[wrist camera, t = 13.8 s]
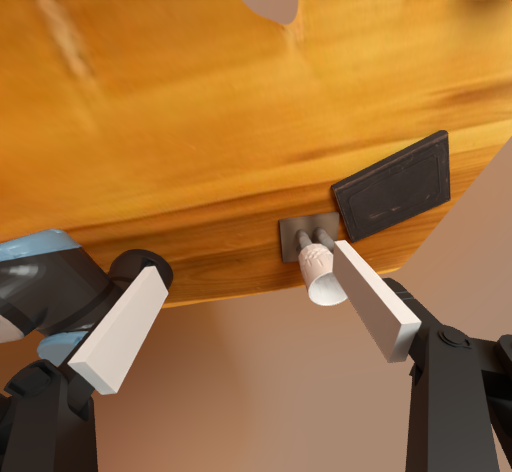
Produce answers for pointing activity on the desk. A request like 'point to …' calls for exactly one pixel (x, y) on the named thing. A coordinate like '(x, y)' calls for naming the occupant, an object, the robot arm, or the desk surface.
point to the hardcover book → (396, 187)
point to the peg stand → (307, 233)
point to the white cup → (320, 275)
